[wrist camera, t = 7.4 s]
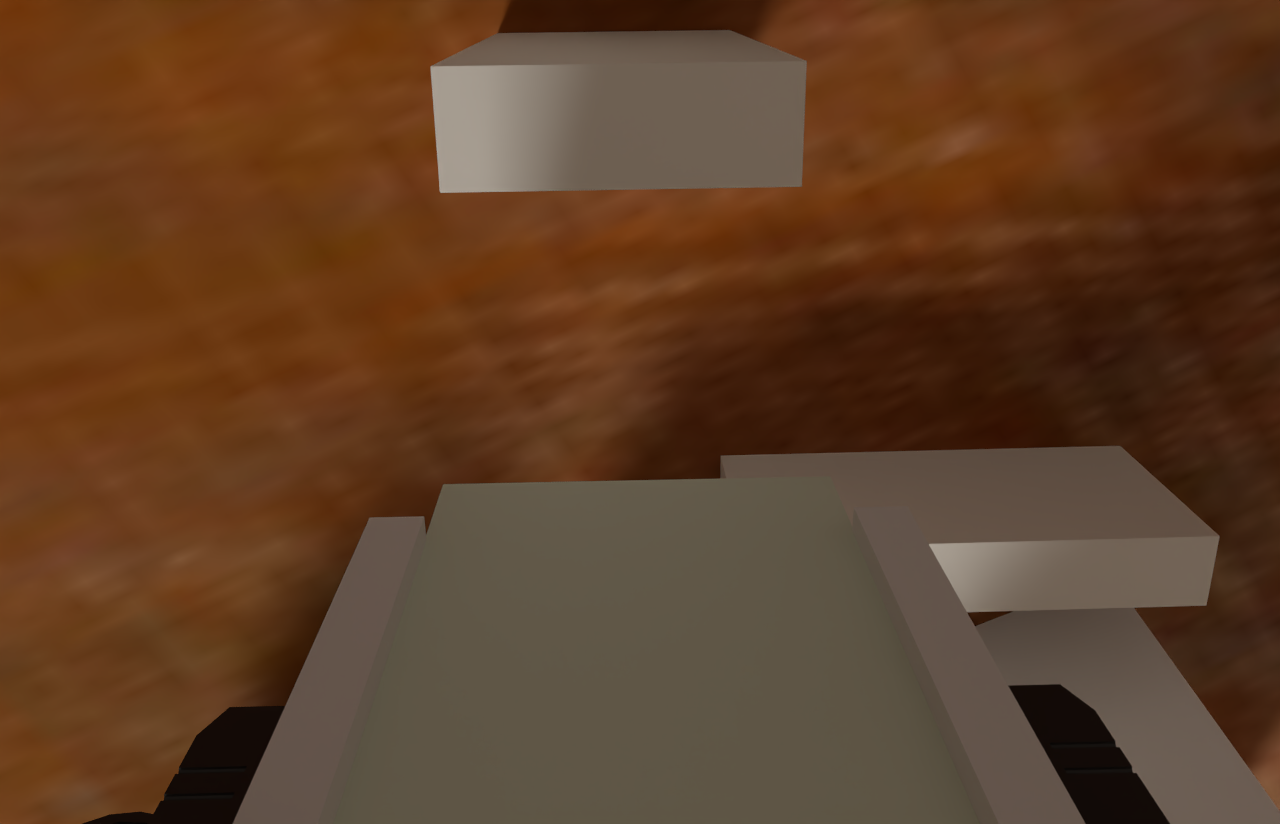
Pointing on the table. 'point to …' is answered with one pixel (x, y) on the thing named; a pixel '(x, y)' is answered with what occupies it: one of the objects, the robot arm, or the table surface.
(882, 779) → the domino
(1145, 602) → the domino
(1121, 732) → the milk
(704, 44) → the domino
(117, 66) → the table surface
